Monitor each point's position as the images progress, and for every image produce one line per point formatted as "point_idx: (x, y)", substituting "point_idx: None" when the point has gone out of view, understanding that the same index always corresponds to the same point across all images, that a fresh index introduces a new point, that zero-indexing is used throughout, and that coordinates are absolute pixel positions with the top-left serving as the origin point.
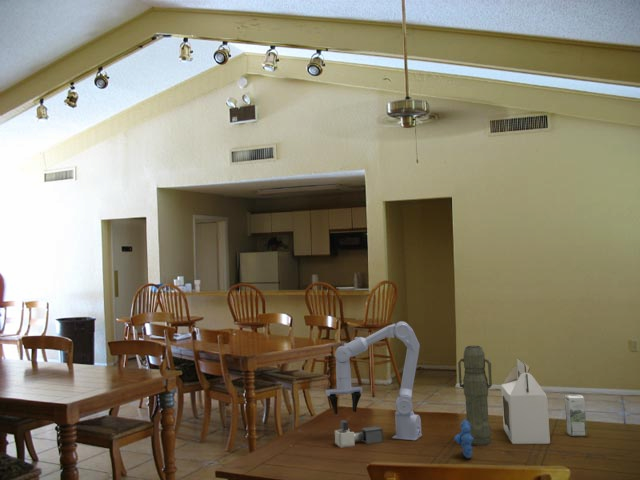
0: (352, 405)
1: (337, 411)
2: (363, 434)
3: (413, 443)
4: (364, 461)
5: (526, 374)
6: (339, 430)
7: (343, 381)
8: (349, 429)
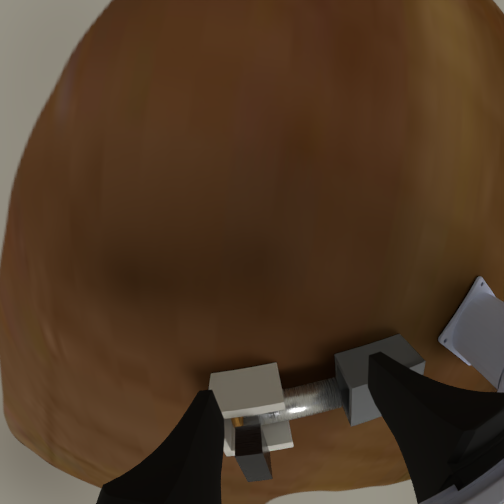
0: (390, 375)
1: (223, 437)
2: (338, 407)
3: (452, 385)
4: (279, 492)
5: None
6: (230, 417)
7: None
8: (284, 408)
